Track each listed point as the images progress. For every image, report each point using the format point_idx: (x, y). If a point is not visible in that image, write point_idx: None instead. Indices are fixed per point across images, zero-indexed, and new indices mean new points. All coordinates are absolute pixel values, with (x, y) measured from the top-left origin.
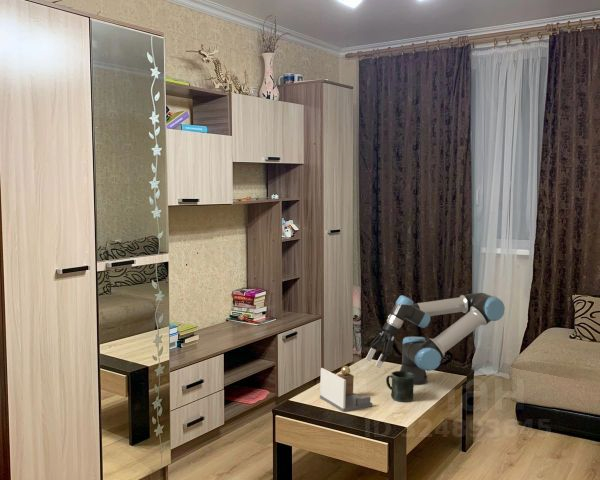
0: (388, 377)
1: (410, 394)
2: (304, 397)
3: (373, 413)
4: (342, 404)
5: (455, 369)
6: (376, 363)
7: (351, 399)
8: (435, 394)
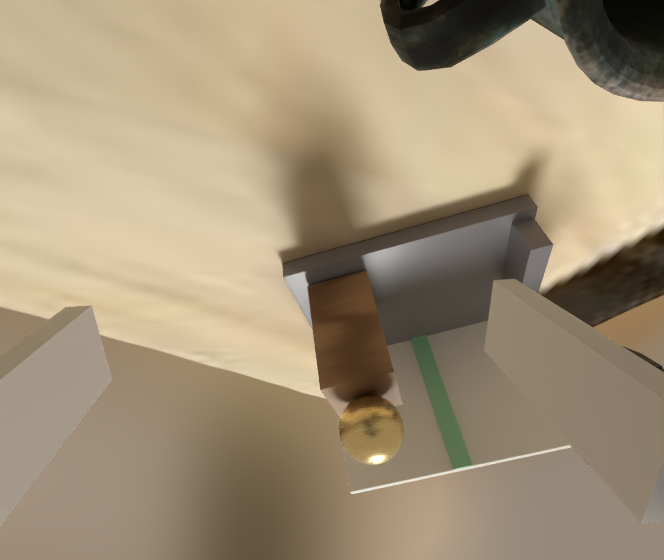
0: (415, 31)
1: None
2: (312, 381)
3: (607, 212)
4: None
5: None
6: (511, 370)
7: (431, 283)
8: None
